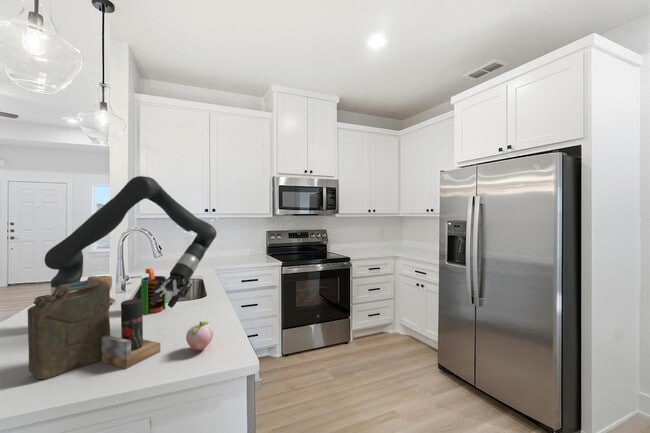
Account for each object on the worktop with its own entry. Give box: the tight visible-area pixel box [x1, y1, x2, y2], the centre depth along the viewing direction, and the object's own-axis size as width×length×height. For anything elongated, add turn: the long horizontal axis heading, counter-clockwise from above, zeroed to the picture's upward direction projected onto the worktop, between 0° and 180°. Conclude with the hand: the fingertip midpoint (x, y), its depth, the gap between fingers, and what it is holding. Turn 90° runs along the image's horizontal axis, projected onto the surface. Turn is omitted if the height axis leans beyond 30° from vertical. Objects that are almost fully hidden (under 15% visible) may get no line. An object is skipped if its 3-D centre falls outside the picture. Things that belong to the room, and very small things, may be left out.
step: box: [101, 335, 161, 369], centre depth 101 cm, size 11×12×8 cm
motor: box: [140, 267, 167, 316], centre depth 146 cm, size 10×9×20 cm
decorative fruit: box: [185, 320, 214, 351], centre depth 106 cm, size 9×8×10 cm
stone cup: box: [86, 275, 116, 304], centre depth 154 cm, size 15×12×15 cm
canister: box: [27, 279, 111, 380], centre depth 95 cm, size 19×8×25 cm, turn 147°
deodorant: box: [120, 298, 144, 351], centre depth 101 cm, size 6×6×15 cm
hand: (160, 305), depth 111 cm, fingers open, 8 cm apart
